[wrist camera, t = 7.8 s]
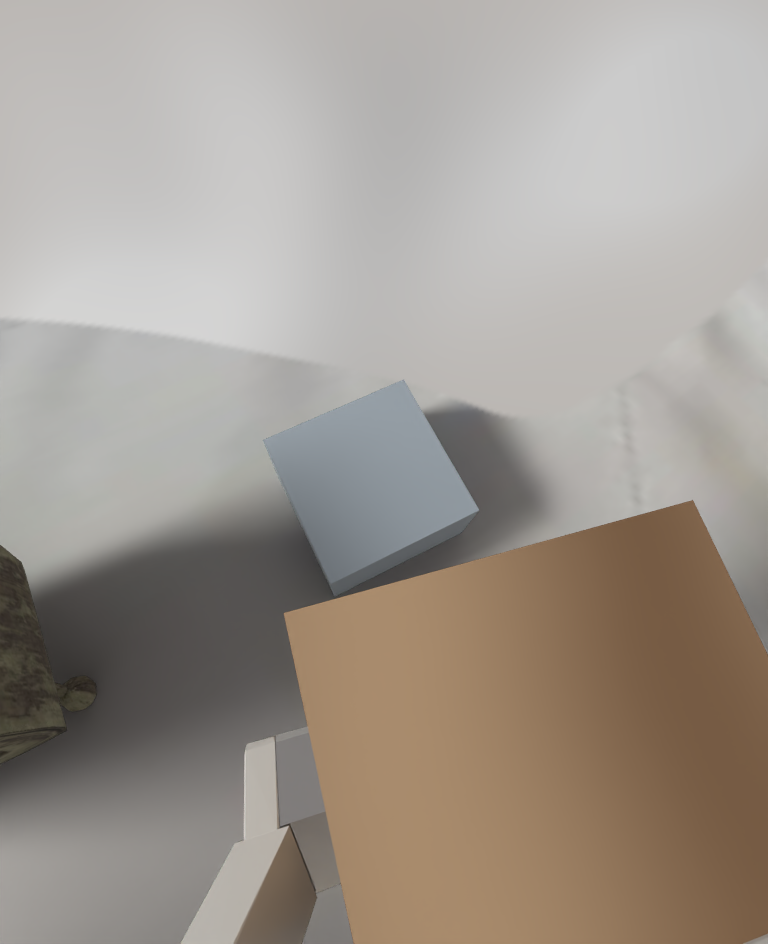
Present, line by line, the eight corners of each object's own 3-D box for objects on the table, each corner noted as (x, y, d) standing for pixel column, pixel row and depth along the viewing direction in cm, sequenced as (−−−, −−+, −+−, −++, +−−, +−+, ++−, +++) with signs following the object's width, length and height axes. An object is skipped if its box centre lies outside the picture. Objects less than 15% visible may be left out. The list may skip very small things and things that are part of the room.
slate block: (334, 597, 30) (330, 584, 25) (276, 473, 32) (262, 439, 27) (460, 533, 31) (479, 510, 27) (396, 419, 34) (403, 379, 29)
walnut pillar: (376, 848, 14) (415, 1238, 4) (328, 647, 15) (283, 612, 6) (558, 786, 14) (938, 1005, 5) (495, 599, 16) (693, 500, 7)
